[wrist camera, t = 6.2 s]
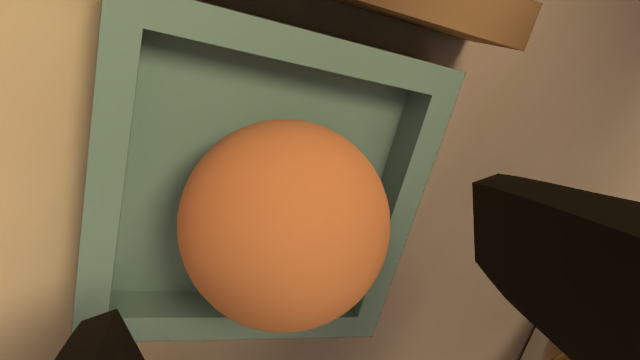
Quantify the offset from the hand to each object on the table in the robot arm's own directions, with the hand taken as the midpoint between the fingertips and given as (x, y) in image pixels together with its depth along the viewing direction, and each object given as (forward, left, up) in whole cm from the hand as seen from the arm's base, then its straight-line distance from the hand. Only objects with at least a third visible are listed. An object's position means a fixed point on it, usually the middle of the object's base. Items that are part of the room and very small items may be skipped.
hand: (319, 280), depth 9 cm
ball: (0, 0, -5) cm, 5 cm away
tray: (0, 0, -6) cm, 6 cm away
